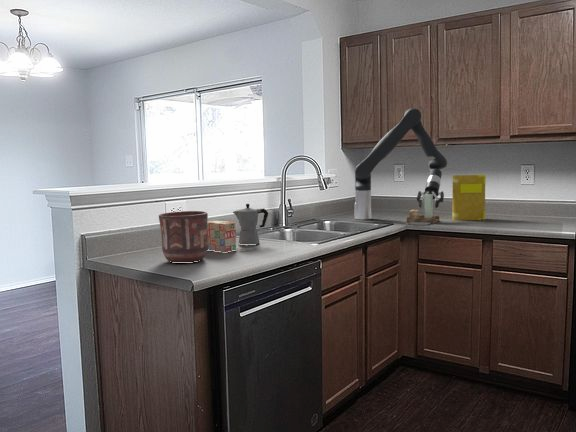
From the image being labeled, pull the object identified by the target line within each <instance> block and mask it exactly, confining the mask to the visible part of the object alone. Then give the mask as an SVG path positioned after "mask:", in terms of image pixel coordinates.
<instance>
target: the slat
mask: <svg viewBox="0 0 576 432" xmlns="http://www.w3.org/2000/svg"><path fill="white" fill-rule="evenodd" d="M433 200H434V199H433V194H426V195H425V201H424V215H425V218H432V217H433V216H434V215H433V214H434V213H433V210H434V208H433V207H434V204H433V203H434V202H433Z"/></svg>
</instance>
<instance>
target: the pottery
mask: <svg viewBox="0 0 576 432" xmlns="http://www.w3.org/2000/svg"><path fill="white" fill-rule="evenodd" d="M208 217H209V215H208V212H207V211H203V210H202V211H200V210H198V211H197V210H188V211H186V210H185V211H184V210H182V211H173V212H165V213H164V212H163V213H160V214H158V220H159V227H160V236H161V237H160V238H161V250H162V254H163V256H164V258H165V259H166V260H167V261H168V262H169V261H171V262H194V261H199V260H202V261H203V260H204V258H205V257H206V255H207V254H208V251H207V250H208V239H207V222H208V219H209V218H208Z"/></svg>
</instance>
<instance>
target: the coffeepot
mask: <svg viewBox="0 0 576 432" xmlns="http://www.w3.org/2000/svg"><path fill="white" fill-rule="evenodd" d="M245 207H246V208H242V209H237V210H234V211H233V212H232V213H233V214H234V215H235V217H236V219H238V222H239V226H240V231H239V238H238V239H239V240H238V244H239V243H240V244H258V243H260V238H259V233H258V230H257V226H258V219H259V214H262V213H263V218H262V220H261V221H262V224H260V225H259V228H264V227H265V226H266V222H267V219H268V216H269V212H268V211H267V209H266V208H256V209H254V208H251V207H250V203H246V204H245Z"/></svg>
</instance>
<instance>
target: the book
mask: <svg viewBox="0 0 576 432" xmlns="http://www.w3.org/2000/svg"><path fill="white" fill-rule="evenodd" d="M486 176H487V175H486V174H462V175H461V174H459V175H457V174H455V175H452V212H451V213H452V214H451V215H452V217H451V219H452V221H482V220H481V219H485V220H486Z"/></svg>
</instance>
